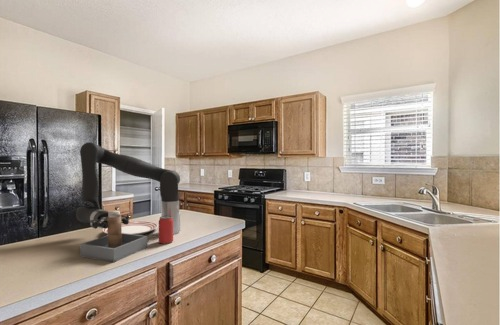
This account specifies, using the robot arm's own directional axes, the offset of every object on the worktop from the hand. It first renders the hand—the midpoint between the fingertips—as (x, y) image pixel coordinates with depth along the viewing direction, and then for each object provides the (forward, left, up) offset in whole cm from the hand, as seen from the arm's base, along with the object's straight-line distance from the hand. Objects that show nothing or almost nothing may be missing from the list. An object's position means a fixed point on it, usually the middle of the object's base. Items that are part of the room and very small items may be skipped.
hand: (117, 224), depth 109 cm
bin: (-1, -2, -12) cm, 12 cm away
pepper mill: (-1, -2, -11) cm, 11 cm away
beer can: (-19, +10, -12) cm, 25 cm away
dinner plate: (-27, -19, -13) cm, 35 cm away
